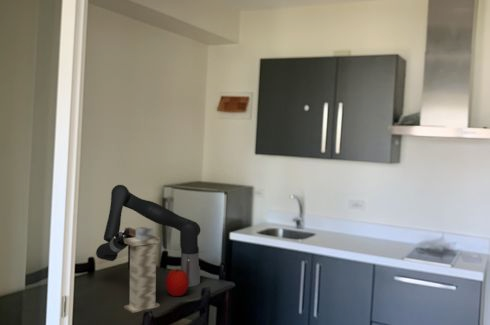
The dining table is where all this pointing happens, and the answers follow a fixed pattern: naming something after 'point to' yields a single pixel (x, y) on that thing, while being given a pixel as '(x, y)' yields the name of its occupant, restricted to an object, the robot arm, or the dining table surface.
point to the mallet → (141, 233)
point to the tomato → (177, 282)
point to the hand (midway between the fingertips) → (134, 230)
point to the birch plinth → (142, 274)
